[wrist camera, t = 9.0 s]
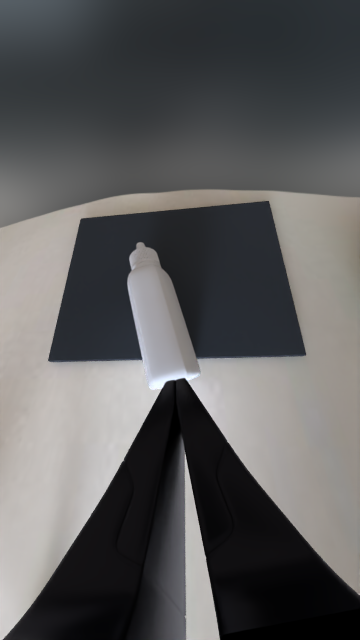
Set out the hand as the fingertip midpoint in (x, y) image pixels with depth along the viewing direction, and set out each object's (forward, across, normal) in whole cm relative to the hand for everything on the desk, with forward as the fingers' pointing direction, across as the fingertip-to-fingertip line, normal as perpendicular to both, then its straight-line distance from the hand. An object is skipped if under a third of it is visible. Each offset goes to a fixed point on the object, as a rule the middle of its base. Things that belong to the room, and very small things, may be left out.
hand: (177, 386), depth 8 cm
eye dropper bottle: (+3, 0, +3) cm, 4 cm away
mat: (+13, 0, -2) cm, 13 cm away
